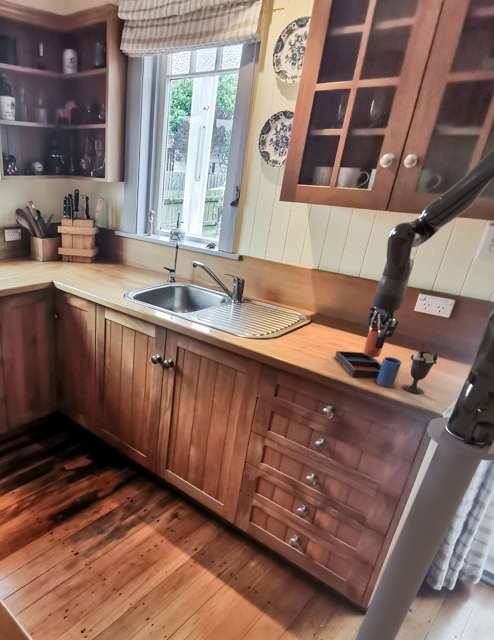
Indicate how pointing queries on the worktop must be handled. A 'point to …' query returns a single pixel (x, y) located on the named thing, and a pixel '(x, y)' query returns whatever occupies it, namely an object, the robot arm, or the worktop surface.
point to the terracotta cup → (372, 344)
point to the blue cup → (388, 372)
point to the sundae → (420, 368)
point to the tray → (358, 364)
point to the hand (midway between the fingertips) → (374, 344)
